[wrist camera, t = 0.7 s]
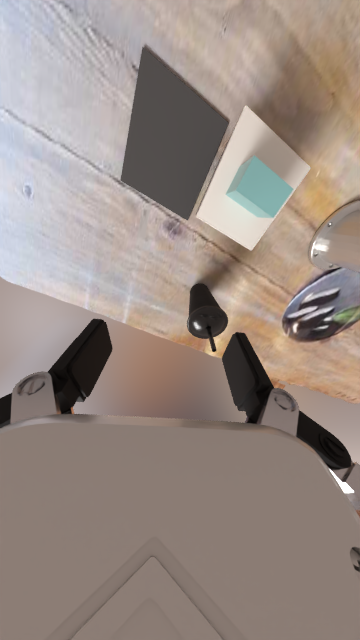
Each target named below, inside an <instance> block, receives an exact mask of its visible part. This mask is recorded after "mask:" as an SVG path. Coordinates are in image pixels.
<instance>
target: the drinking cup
mask: <svg viewBox="0 0 360 640" xmlns="http://www.w3.org/2000/svg"><path fill="white" fill-rule="evenodd" d="M227 324H228V317H227V315H226V313H225V312H224V311H223V310H222V309H221V308H220V306H219V305H218V303H217V302H216V300H215V299H214V297H213V296H212V294H211V293H210V291H209V289H208V288H207V286H205V285H204V284H196V285H194V286H193V287H192V288H191V291H190V304H189V318H188V320H187V327H188V330H189V332H190V333H191V334H192V335H194V336H195V337H198V338H202V339H208V338H209V340H210V344H211V348H212V351H213V352H215V351H216V346H215V343H214V339H213V337H216V336H218V335H219V334H221V333H222V332H223V331H224V330H225V328H226V327H227Z"/></svg>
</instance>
